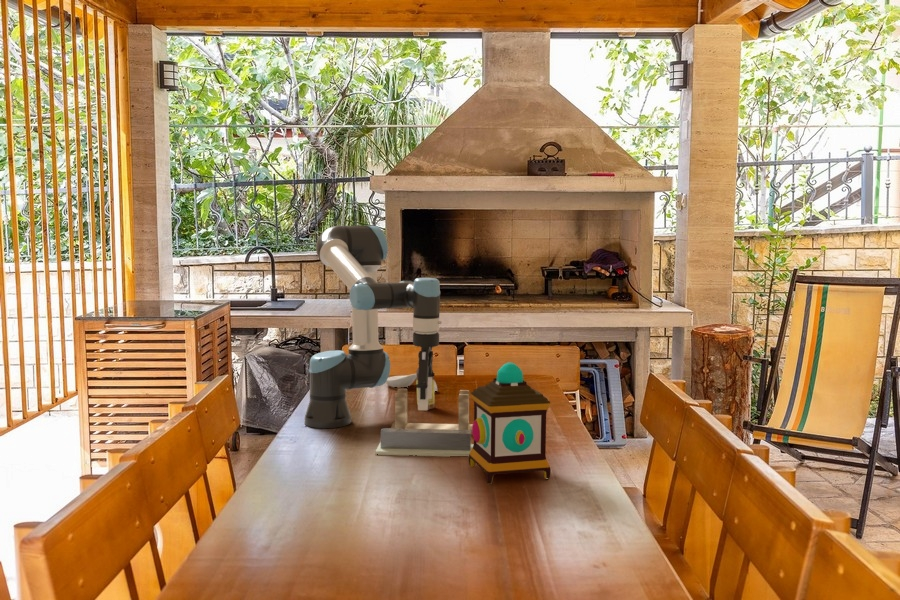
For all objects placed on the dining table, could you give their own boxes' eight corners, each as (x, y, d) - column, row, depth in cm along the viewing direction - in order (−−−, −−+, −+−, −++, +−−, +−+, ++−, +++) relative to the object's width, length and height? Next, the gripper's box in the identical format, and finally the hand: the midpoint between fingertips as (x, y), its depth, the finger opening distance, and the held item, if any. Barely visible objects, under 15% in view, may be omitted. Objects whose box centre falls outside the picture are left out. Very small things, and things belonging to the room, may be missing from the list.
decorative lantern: (484, 487, 215) (485, 370, 212) (462, 465, 234) (463, 357, 231) (557, 481, 220) (560, 367, 217) (530, 460, 239) (532, 354, 236)
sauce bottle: (435, 406, 304) (435, 351, 302) (433, 410, 298) (433, 354, 296) (417, 405, 305) (417, 351, 302) (415, 409, 298) (415, 354, 296)
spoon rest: (378, 387, 337) (378, 369, 336) (397, 383, 346) (397, 365, 346) (425, 395, 323) (425, 377, 322) (443, 390, 332) (443, 372, 331)
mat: (375, 454, 243) (375, 451, 243) (380, 445, 253) (380, 441, 253) (473, 457, 241) (473, 453, 241) (474, 447, 251) (474, 444, 251)
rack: (390, 431, 268) (390, 393, 267) (393, 426, 275) (393, 388, 274) (472, 433, 267) (473, 395, 265) (473, 428, 274) (473, 390, 273)
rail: (380, 448, 246) (380, 431, 245) (382, 444, 250) (382, 428, 249) (470, 450, 244) (470, 433, 244) (470, 446, 248) (470, 430, 248)
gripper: (435, 339, 231) (434, 415, 234) (442, 325, 256) (441, 394, 258) (408, 338, 231) (407, 414, 234) (417, 325, 256) (416, 393, 259)
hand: (425, 404), depth 246 cm, fingers open, 13 cm apart
